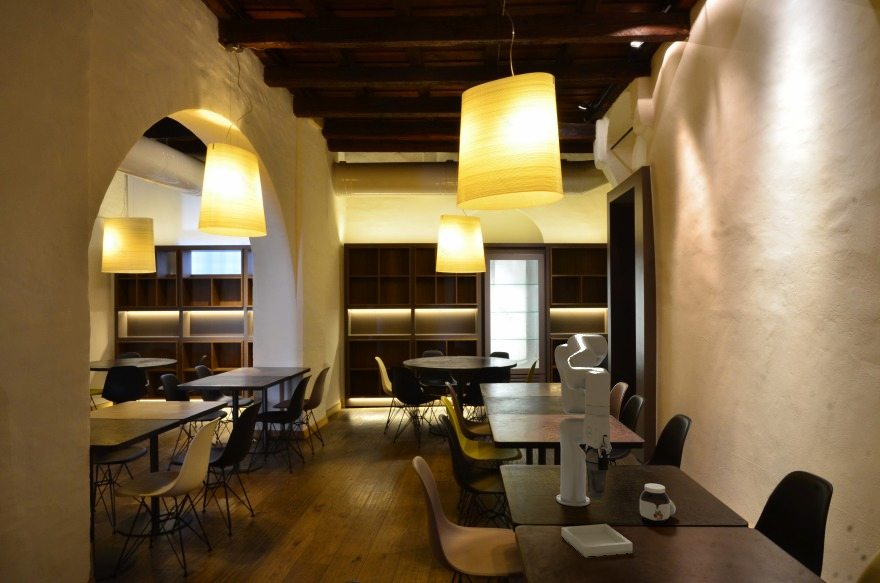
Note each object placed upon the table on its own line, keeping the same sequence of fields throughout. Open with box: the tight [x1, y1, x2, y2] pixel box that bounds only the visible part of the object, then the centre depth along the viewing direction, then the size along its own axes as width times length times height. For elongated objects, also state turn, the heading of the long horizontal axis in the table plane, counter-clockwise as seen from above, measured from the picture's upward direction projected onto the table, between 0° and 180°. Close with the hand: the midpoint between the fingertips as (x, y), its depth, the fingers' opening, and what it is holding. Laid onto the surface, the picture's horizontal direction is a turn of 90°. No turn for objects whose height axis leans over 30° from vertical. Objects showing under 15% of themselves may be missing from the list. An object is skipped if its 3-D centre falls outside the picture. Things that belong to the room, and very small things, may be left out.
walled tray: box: [561, 523, 634, 558], centre depth 188 cm, size 16×16×3 cm
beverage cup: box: [585, 448, 610, 501], centre depth 188 cm, size 7×7×20 cm
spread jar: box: [639, 482, 677, 524], centre depth 212 cm, size 12×11×12 cm
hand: (596, 466), depth 188 cm, fingers closed on beverage cup, 7 cm apart
